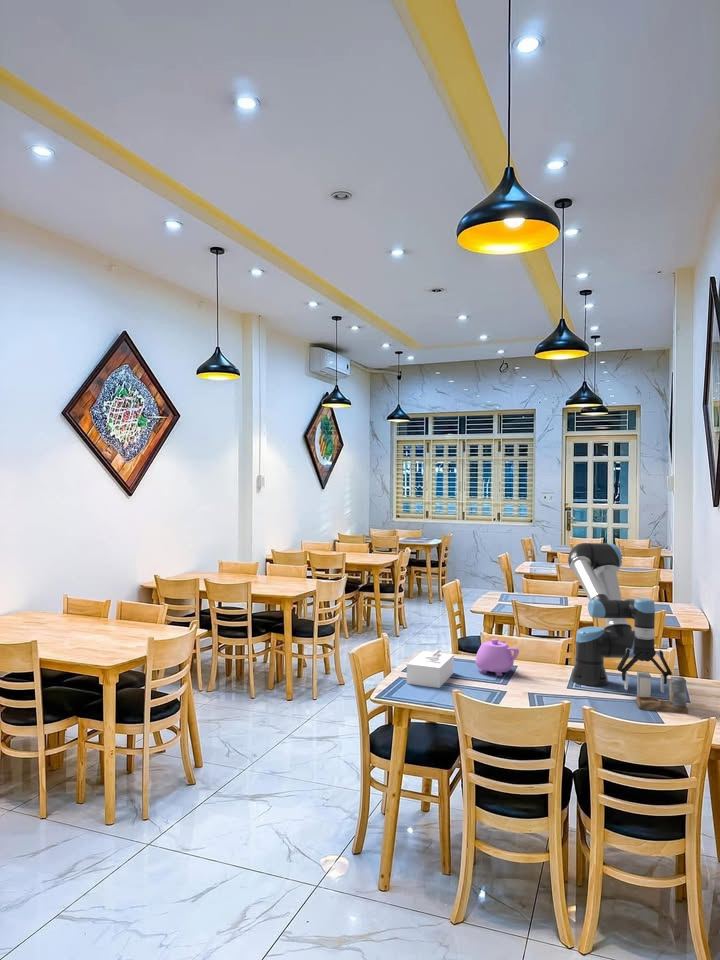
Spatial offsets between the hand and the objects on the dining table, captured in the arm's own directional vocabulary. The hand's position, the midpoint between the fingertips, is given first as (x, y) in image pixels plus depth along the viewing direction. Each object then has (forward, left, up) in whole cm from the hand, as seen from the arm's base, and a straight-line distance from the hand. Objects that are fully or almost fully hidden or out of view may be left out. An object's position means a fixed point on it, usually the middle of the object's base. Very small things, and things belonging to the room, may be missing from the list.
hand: (644, 690), depth 262 cm
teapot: (-58, +23, -4) cm, 63 cm away
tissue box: (-87, +3, -4) cm, 87 cm away
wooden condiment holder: (+4, -11, -3) cm, 12 cm away
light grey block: (0, 0, -3) cm, 3 cm away
